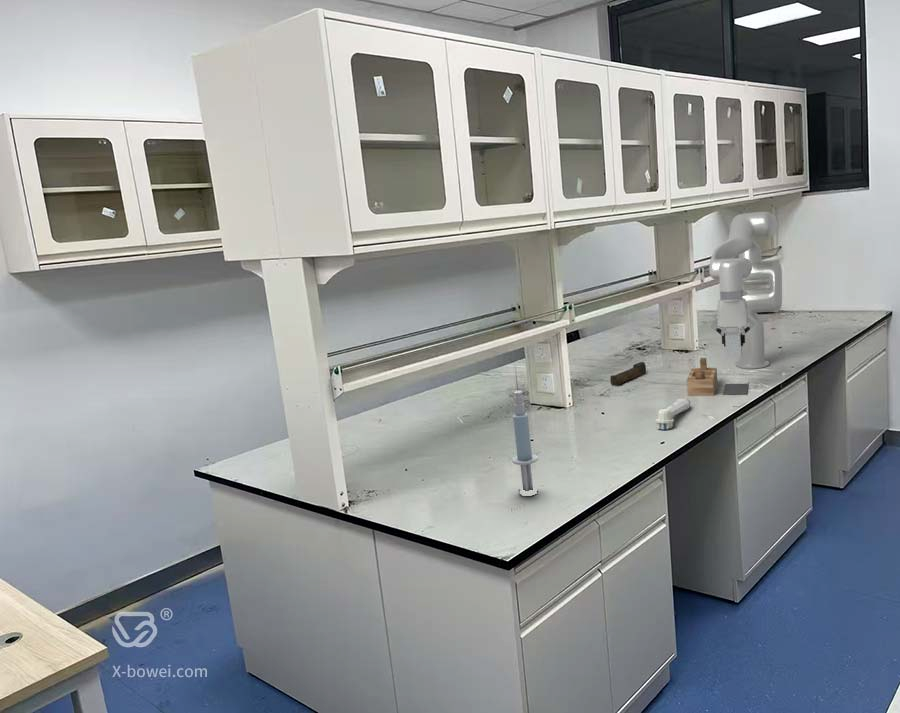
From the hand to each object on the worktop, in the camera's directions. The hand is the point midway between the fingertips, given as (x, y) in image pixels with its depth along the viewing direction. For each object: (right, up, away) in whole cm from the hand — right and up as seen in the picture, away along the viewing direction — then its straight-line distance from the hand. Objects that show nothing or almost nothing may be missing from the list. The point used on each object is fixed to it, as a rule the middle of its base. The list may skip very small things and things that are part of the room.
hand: (733, 345), depth 256 cm
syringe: (-82, -41, -67) cm, 113 cm away
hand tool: (-28, -14, +37) cm, 48 cm away
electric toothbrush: (-28, -25, -21) cm, 43 cm away
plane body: (-8, -16, +9) cm, 20 cm away
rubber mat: (+2, -16, +3) cm, 17 cm away
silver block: (0, -4, +1) cm, 4 cm away
